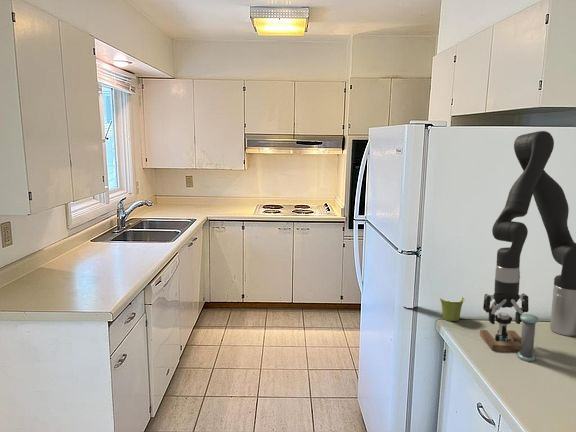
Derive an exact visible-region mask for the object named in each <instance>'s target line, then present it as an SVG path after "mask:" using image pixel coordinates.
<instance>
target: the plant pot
mask: <svg viewBox="0 0 576 432" xmlns="http://www.w3.org/2000/svg"><path fill="white" fill-rule="evenodd" d="M438 298H439V301H440V303H441V311H442V318H443V319H444V320H445V321H449V322H453V321H455V322H457V321H459V320H460V317H461V311H462V306H463V304H464V302H465V297H463V296H462V300H461V301H460V302H450V301H445V300H443V299H441V298H440V297H439V296H438Z"/></svg>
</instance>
